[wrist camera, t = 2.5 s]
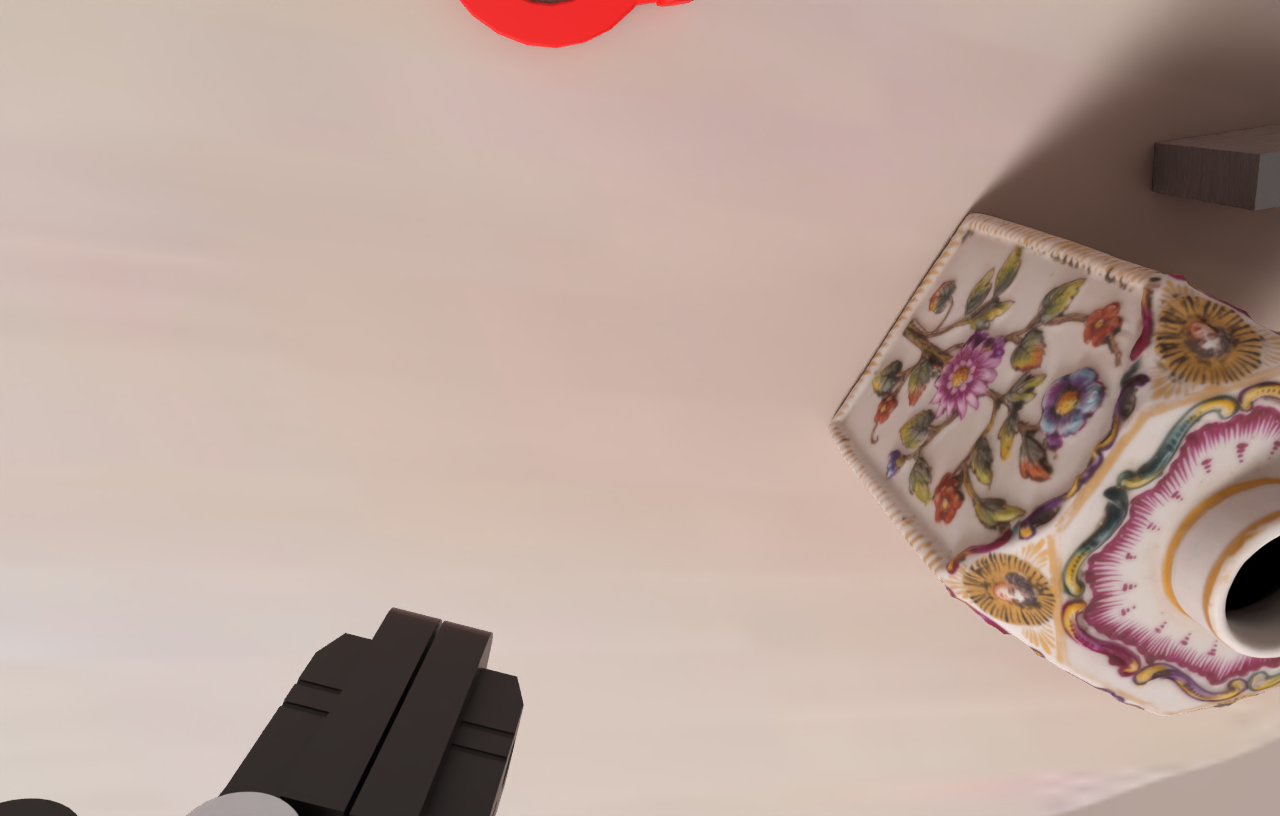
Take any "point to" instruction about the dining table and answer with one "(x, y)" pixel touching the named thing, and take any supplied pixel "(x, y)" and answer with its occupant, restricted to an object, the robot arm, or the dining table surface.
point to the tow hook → (554, 18)
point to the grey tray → (1222, 168)
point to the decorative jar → (1085, 462)
